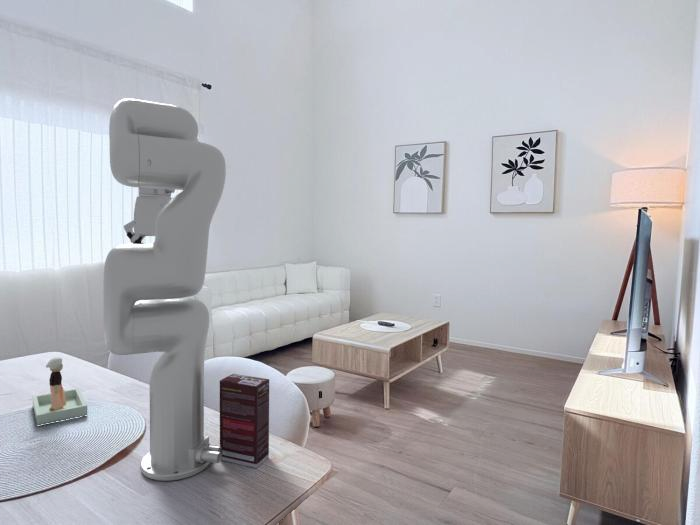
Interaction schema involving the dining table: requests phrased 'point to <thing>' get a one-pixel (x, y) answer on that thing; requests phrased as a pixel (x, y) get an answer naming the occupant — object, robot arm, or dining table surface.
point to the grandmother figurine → (56, 384)
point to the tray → (71, 409)
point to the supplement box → (244, 420)
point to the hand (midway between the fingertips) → (155, 258)
